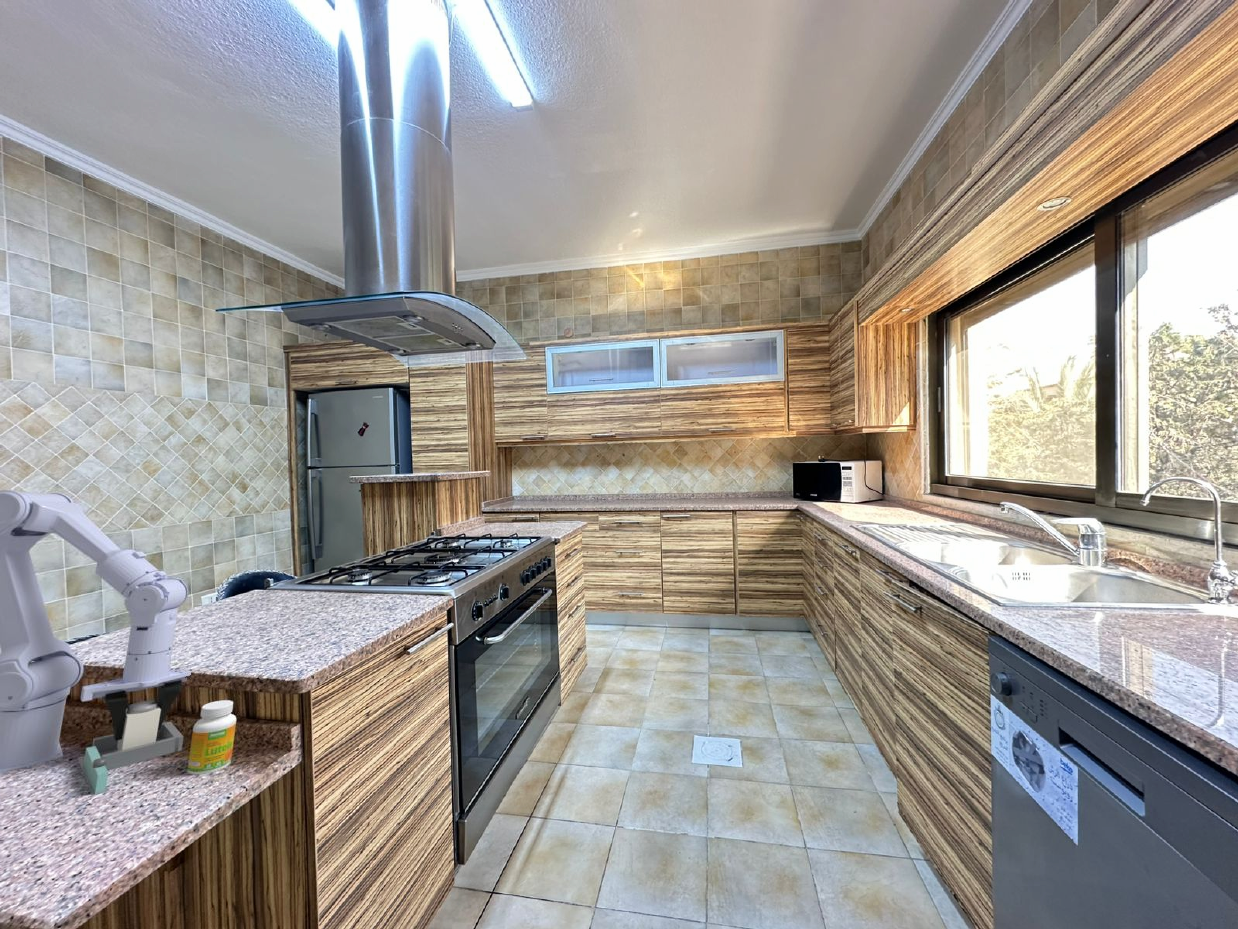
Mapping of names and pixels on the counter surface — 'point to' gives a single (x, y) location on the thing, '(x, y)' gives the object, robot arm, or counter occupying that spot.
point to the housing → (135, 750)
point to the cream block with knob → (140, 724)
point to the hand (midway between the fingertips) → (137, 733)
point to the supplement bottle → (212, 738)
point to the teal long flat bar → (96, 769)
